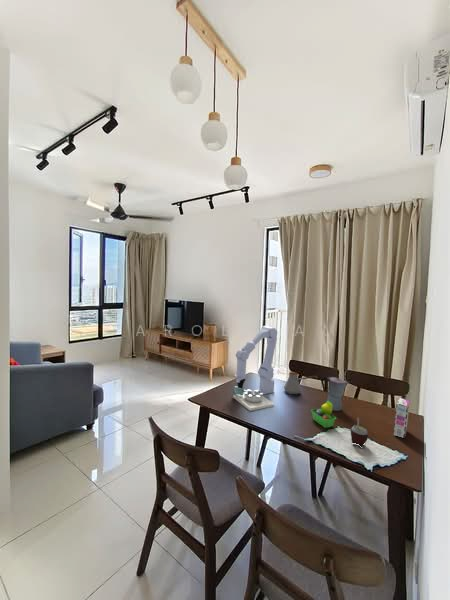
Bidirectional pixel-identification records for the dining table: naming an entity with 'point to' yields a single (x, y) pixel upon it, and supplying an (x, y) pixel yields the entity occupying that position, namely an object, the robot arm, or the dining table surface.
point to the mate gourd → (359, 434)
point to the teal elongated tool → (249, 394)
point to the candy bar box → (401, 417)
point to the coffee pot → (294, 383)
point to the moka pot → (335, 391)
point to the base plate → (253, 406)
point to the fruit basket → (324, 415)
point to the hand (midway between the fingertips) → (240, 390)
